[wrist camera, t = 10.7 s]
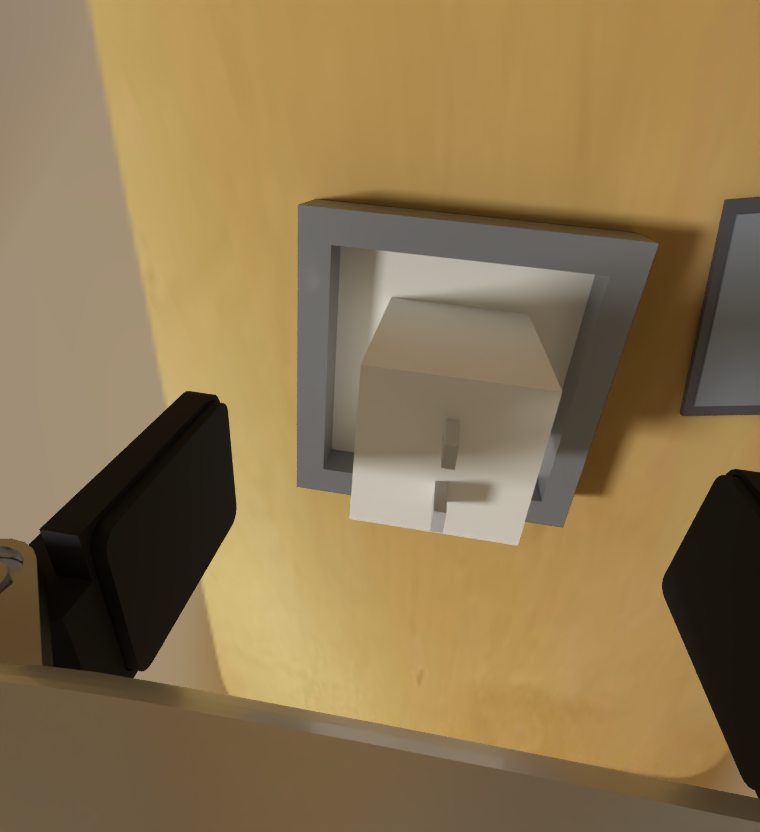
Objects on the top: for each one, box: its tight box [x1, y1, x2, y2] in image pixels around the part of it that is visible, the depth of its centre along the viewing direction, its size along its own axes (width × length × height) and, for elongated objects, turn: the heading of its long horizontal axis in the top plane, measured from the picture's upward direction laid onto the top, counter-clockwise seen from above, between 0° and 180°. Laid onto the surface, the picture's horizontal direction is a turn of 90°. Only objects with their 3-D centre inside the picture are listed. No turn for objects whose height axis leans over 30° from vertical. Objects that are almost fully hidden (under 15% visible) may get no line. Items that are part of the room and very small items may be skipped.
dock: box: [297, 199, 659, 528], centre depth 17 cm, size 10×10×2 cm
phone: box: [680, 197, 760, 416], centre depth 16 cm, size 7×4×1 cm, turn 5°
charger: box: [350, 297, 562, 546], centre depth 14 cm, size 5×4×7 cm
